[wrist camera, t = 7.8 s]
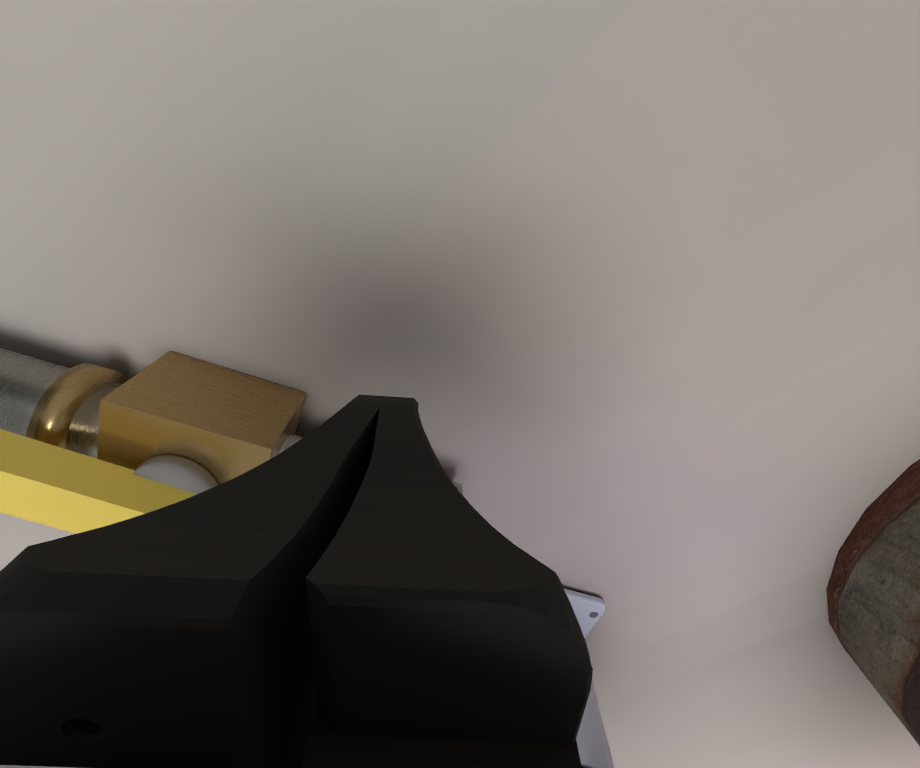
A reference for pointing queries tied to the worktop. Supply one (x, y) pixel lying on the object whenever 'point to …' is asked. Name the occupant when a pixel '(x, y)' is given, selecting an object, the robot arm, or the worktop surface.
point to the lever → (88, 485)
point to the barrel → (884, 596)
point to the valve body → (151, 412)
